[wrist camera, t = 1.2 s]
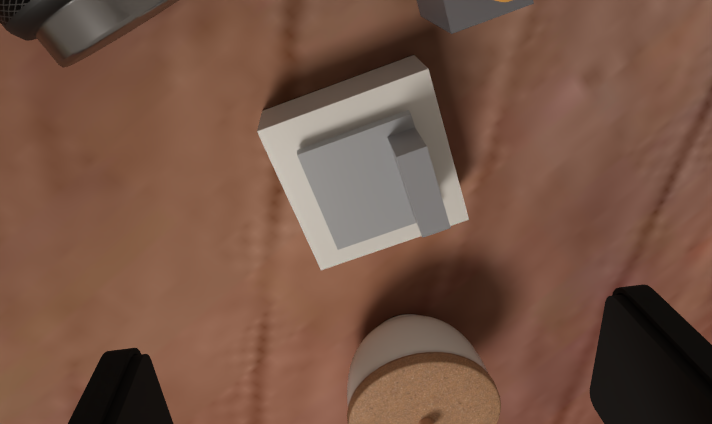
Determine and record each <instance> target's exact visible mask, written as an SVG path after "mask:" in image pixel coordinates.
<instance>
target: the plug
mask: <svg viewBox="0 0 712 424" xmlns="http://www.w3.org/2000/svg"><path fill="white" fill-rule="evenodd" d="M417 4H418V7H419V11H420V15H421V17H423V18H425V19H427V20H428V21H430V22H432V23H434V24H435V25H437V26H439V27H440V28H442V29H444V30H446V31H447V32H449V33H451V34H453V33H455V32H458V31H461V30H463V29H466V28H469V27H471V26H474V25H477V24H480V23H482V22H485V21H488V20H490V19H493V18H496V17H498V16H501V15H504V14H507V13H509V12H512V11H515V10H517V9H520V8H523V7H525V6H528V5H531V4H534V3H533V0H417Z"/></svg>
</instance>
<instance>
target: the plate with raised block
mask: <svg viewBox="0 0 712 424" xmlns="http://www.w3.org/2000/svg"><path fill="white" fill-rule="evenodd" d="M297 156H298V158H299V161H300V163H301V165H302V168H303V170H304V172H305V175H306V177H307V179H308V182H309V184H310V186H311V189H312V191H313V193H314V196H315V198H316V200H317V203H318V205H319V207H320V210H321V212H322V214H323V217H324V219H325V221H326V224H327V226H328V228H329V231H330V233H331V235H332V238H333V240H334V242H335V244H336V247H337V249H338V250H339V249H342V248H345V247H348V246H351V245H354V244H356V243H359V242H362V241H365V240H368V239H371V238H374V237H377V236H380V235H383V234H386V233H388V232H391V231H394V230H397V229H400V228H403V227H406V226H409V225H412V224H415V223H417V225H418V228H419V230H420V232H421V235H422V237H426V236H429V235H432V234H435V233H438V232H440V231H443V230H446V229H449V228H451V227H450V224H449V220H448V217H447V213H446V210H445V207H444V203H443V200H442V196H441V193H440V189H439V186H438V183H437V179H436V176H435V172H434V169H433V166H432V162H431V159H430V155H429V152H428V148H427V146H426V144H425V142H424V141H423V139H422V138H421V136H420V135H419V133H418V131H417V130H416V128H415V126H414V122H413V119H412V116H411V113H410V112H409V110H406V111H404V112H401V113H398V114H395V115H393V116H390V117H387V118H384V119H381V120H379V121H376V122H373V123H370V124H368V125H365V126H362V127H359V128H357V129H354V130H351V131H348V132H346V133H343V134H340V135H337V136H334V137H332V138H329V139H326V140H323V141H321V142H318V143H315V144H312V145H310V146H307V147H304V148H301V149H299V150H297Z"/></svg>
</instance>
